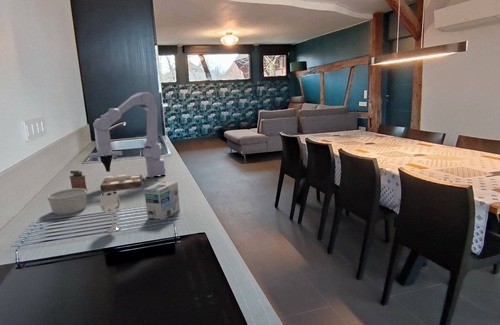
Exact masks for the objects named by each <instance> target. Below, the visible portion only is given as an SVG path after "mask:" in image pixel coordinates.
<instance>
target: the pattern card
mask: <svg viewBox="0 0 500 325" xmlns="http://www.w3.org/2000/svg"><path fill="white" fill-rule="evenodd" d="M137 181H140V179H134V180H126V181H117V182H107V183H103V182H102V183H103V184H102V183H101V184H102V185H111V184H120V183H128V182H137Z"/></svg>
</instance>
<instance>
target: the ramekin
mask: <svg viewBox="0 0 500 325" xmlns="http://www.w3.org/2000/svg"><path fill="white" fill-rule="evenodd" d="M87 192H88V191H87ZM87 192H86V189H82V188H75V189H72V188H68V189H61V190H59V191H58V190H57V191H54V192H52V193H50V194H48V195H47V200H48V202H49V206H50V208H51V211H52V213H53V214H55V215H59V216H60V215H61V216H62V215H71V214H75V213H78V212H79V213H80V211H83V210H84V209H85V208H86V207H87V194H88V193H87Z"/></svg>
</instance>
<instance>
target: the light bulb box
mask: <svg viewBox="0 0 500 325" xmlns="http://www.w3.org/2000/svg"><path fill="white" fill-rule="evenodd" d="M143 190H144V191H143V192H144V198H145V206H146V207H145V208H146V216H147V219H150V218H155V219H154V220H158V219H160V220H161V221H164V220H166V219H168V218H169V217H171V216H172V214H173V215H174V213H175V214H176V213H178V212H180V211H181V209H180V208H181V206H180V205H181V204H180V197H179V186H178V182H175V181H165V180H164V181H161V182H158V183H155V184H152V185H150V186H148V187H145V188H143ZM170 215H171V216H170ZM168 216H169V217H168ZM163 219H164V220H163Z"/></svg>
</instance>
